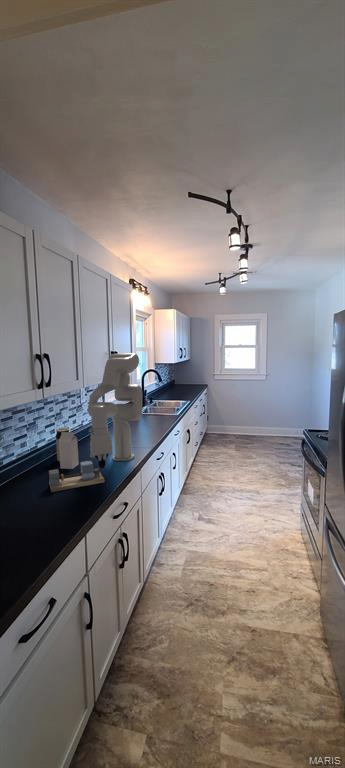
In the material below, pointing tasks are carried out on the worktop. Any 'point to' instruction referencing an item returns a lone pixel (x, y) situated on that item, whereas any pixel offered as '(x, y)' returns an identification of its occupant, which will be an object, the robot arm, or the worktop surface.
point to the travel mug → (59, 438)
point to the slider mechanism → (72, 480)
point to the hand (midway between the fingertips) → (102, 467)
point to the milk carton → (68, 450)
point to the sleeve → (87, 470)
